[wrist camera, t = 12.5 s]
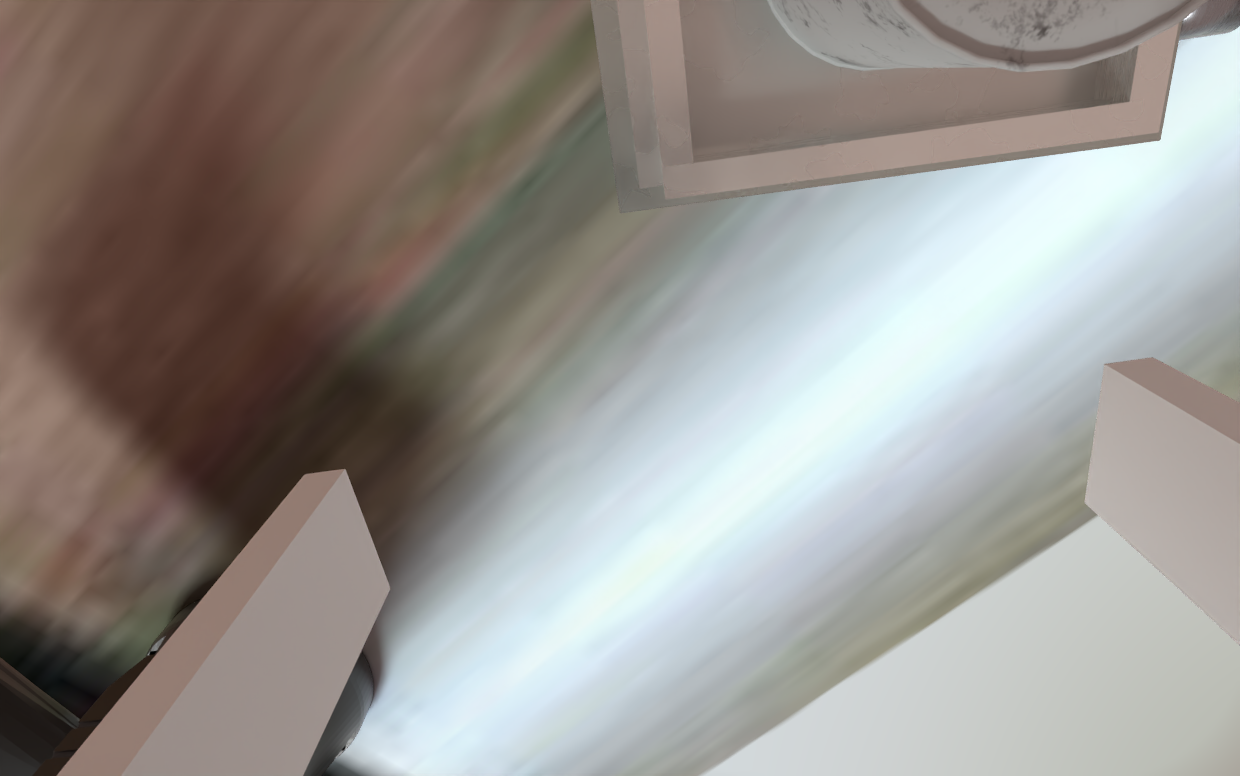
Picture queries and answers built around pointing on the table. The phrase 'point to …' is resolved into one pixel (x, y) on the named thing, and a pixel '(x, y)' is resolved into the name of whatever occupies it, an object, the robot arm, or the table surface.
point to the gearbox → (843, 104)
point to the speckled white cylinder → (974, 31)
